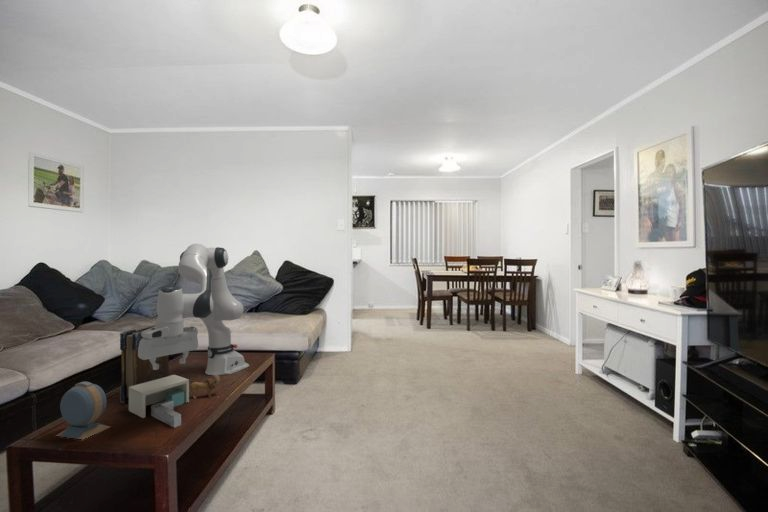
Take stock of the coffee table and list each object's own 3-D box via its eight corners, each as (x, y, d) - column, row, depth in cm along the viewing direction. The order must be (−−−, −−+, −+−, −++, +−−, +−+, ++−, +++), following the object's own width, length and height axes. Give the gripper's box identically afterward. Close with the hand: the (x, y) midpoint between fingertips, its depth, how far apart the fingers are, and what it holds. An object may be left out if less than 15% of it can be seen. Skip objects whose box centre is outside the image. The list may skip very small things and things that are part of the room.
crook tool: (171, 408, 147) (171, 399, 147) (194, 419, 137) (194, 409, 137) (151, 415, 140) (151, 405, 140) (174, 427, 130) (174, 416, 130)
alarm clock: (112, 427, 131) (112, 379, 131) (85, 440, 121) (85, 388, 121) (82, 423, 134) (82, 376, 134) (53, 436, 124) (53, 385, 125)
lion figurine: (220, 392, 165) (220, 372, 165) (220, 396, 160) (220, 376, 160) (184, 397, 159) (184, 376, 159) (182, 401, 154) (182, 380, 154)
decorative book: (136, 403, 152) (136, 333, 152) (120, 402, 153) (120, 333, 153) (171, 383, 176) (171, 323, 176) (157, 383, 176) (157, 322, 176)
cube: (178, 400, 155) (178, 389, 155) (184, 403, 152) (184, 391, 152) (166, 405, 151) (166, 393, 151) (172, 407, 148) (172, 395, 148)
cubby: (174, 396, 160) (174, 374, 160) (189, 402, 153) (189, 379, 153) (128, 410, 145) (128, 386, 145) (142, 418, 138) (142, 393, 138)
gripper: (193, 325, 145) (193, 359, 145) (136, 332, 129) (135, 371, 128) (201, 326, 142) (201, 361, 141) (143, 335, 125) (143, 374, 125)
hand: (169, 366), depth 135 cm, fingers open, 8 cm apart
